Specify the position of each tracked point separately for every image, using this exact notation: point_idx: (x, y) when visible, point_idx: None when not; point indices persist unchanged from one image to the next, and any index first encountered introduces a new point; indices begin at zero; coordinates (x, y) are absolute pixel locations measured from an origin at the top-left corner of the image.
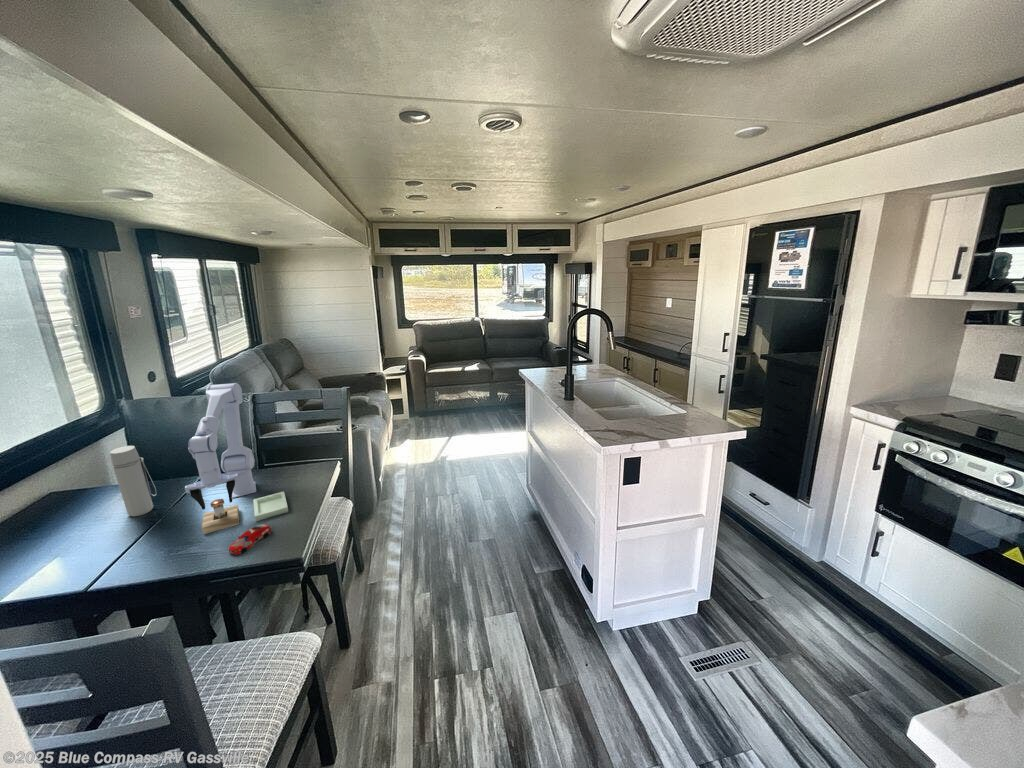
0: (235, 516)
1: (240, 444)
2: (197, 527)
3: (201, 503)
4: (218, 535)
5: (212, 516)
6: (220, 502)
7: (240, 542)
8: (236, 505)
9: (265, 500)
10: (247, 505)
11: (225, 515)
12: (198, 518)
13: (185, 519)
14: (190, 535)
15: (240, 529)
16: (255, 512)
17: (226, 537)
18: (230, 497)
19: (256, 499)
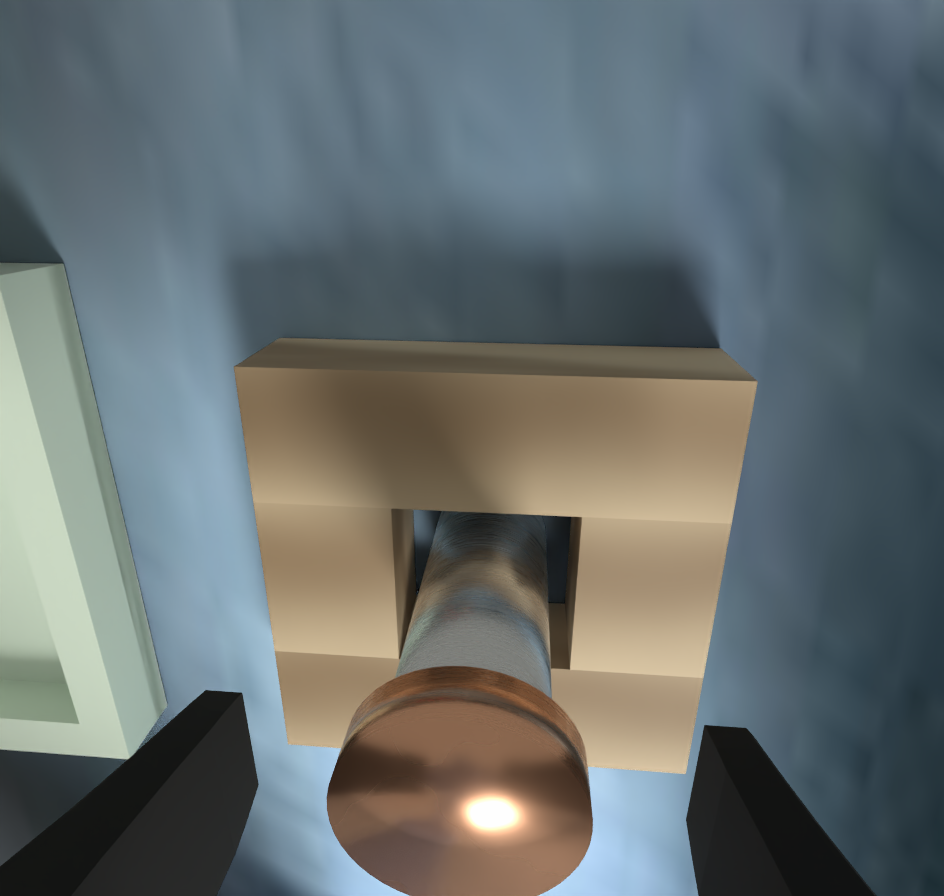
0: (274, 433)
1: None
2: (763, 583)
3: (817, 887)
4: (537, 174)
5: (587, 636)
6: (385, 751)
7: None
8: (296, 727)
9: (23, 688)
10: None
11: (424, 571)
12: None
13: (847, 823)
14: (870, 434)
15: (244, 154)
16: (18, 403)
17: (426, 12)
18: (123, 783)
19: (88, 737)
